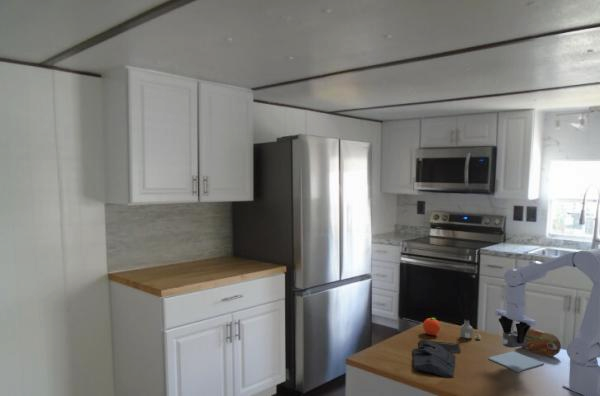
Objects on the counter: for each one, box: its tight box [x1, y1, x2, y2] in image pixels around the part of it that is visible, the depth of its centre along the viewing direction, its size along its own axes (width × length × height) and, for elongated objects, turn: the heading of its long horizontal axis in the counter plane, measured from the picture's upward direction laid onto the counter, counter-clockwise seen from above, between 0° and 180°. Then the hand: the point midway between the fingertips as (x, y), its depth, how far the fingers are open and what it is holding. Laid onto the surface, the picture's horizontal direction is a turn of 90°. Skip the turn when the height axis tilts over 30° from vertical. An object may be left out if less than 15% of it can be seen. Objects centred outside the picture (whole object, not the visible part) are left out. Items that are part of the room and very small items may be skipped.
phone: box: [418, 339, 461, 354], centre depth 167 cm, size 8×1×15 cm
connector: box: [498, 330, 525, 349], centre depth 151 cm, size 4×10×4 cm, turn 110°
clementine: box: [422, 317, 441, 336], centre depth 181 cm, size 8×7×7 cm
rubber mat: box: [487, 350, 545, 373], centre depth 154 cm, size 12×14×1 cm
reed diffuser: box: [456, 289, 482, 340], centre depth 178 cm, size 10×7×20 cm
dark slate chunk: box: [412, 340, 456, 378], centre depth 152 cm, size 15×22×5 cm
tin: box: [520, 327, 562, 358], centre depth 163 cm, size 15×3×8 cm, turn 37°
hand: (514, 340), depth 152 cm, fingers closed on connector, 4 cm apart
